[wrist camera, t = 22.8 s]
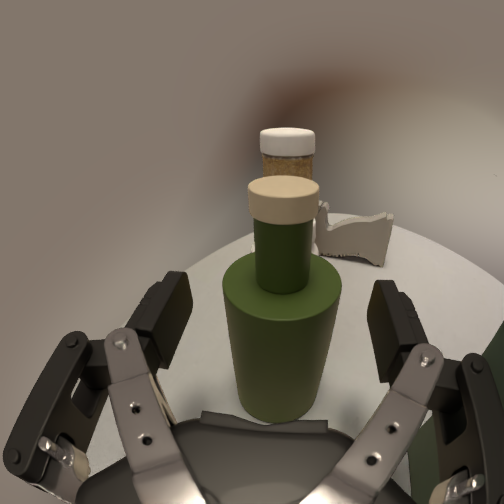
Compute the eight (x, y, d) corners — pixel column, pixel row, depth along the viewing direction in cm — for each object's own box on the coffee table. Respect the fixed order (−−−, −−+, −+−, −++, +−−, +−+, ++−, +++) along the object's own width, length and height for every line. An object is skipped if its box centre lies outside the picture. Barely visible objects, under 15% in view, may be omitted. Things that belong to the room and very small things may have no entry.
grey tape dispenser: (382, 268, 27) (293, 250, 31) (382, 261, 28) (297, 244, 32) (393, 218, 24) (296, 201, 28) (393, 213, 25) (299, 197, 29)
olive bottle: (231, 419, 14) (191, 211, 8) (244, 357, 19) (228, 167, 12) (316, 424, 14) (370, 216, 7) (316, 361, 18) (342, 170, 11)
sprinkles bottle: (313, 259, 29) (320, 128, 22) (301, 284, 26) (307, 134, 19) (273, 251, 31) (271, 126, 24) (256, 274, 27) (250, 131, 20)
